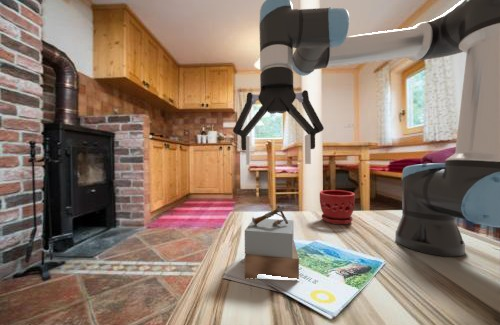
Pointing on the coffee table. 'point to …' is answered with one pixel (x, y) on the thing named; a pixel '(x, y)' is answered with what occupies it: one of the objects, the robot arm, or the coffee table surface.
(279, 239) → the tower top
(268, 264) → the tower bottom
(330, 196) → the plant pot
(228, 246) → the coffee table surface
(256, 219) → the wooden post with brackets
